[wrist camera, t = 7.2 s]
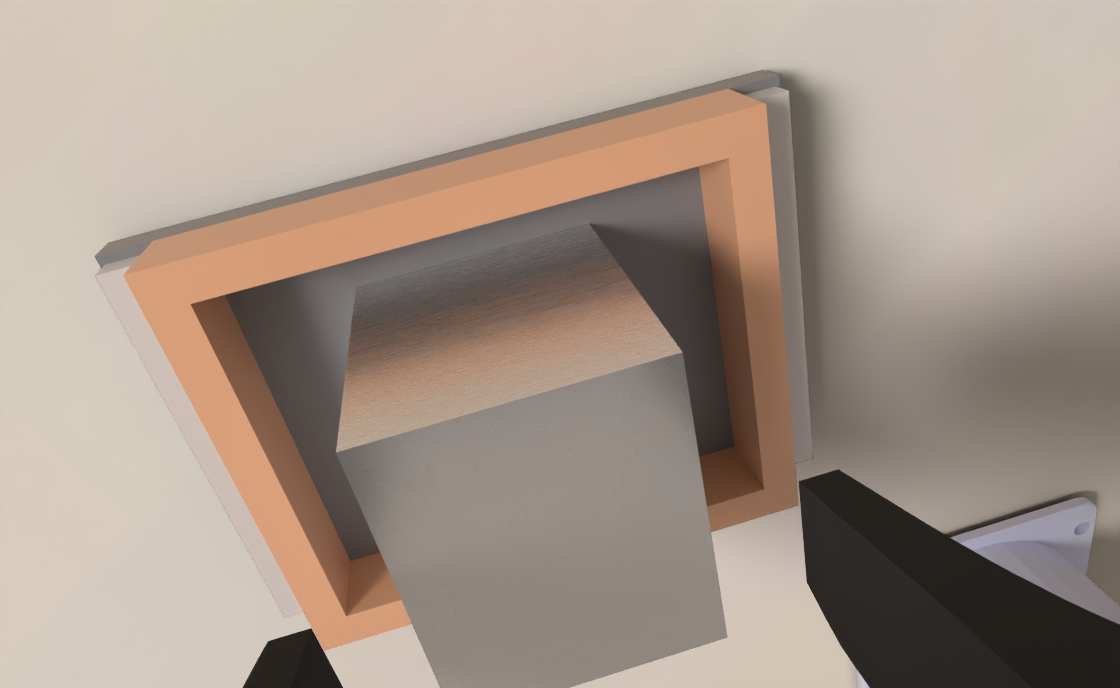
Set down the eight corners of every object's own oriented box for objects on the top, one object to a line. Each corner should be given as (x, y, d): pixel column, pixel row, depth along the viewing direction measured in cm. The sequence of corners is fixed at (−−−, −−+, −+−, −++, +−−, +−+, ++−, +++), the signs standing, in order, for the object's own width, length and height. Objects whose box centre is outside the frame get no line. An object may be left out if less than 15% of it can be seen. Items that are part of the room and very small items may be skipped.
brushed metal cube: (635, 448, 19) (727, 637, 14) (439, 506, 19) (456, 723, 13) (589, 223, 16) (682, 352, 11) (355, 287, 16) (335, 452, 10)
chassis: (791, 433, 21) (841, 492, 18) (291, 583, 20) (276, 665, 17) (762, 69, 16) (823, 88, 14) (108, 242, 15) (57, 293, 13)
